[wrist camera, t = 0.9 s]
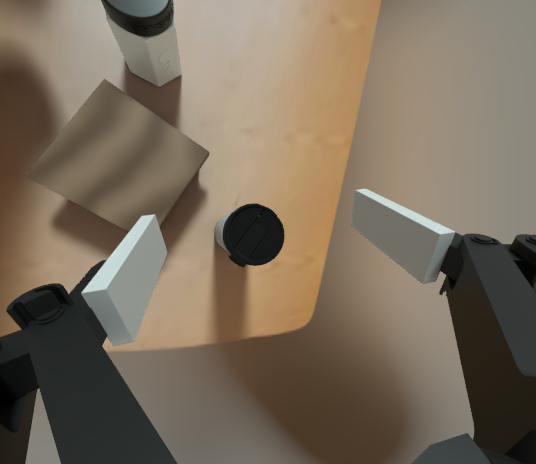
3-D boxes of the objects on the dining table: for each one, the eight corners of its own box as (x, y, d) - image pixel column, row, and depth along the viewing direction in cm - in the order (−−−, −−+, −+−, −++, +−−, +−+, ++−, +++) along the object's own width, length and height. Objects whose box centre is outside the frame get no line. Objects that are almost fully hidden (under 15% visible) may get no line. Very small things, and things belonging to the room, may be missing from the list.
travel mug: (205, 237, 39) (208, 243, 20) (228, 208, 40) (251, 188, 21) (233, 258, 40) (261, 282, 21) (255, 229, 41) (299, 228, 22)
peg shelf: (56, 185, 33) (24, 175, 27) (120, 103, 35) (104, 78, 29) (156, 240, 37) (147, 242, 31) (208, 163, 39) (209, 151, 33)
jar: (148, 95, 36) (123, 32, 25) (113, 49, 35) (68, -40, 23) (193, 70, 38) (189, 1, 27) (161, 26, 37) (142, -68, 25)
